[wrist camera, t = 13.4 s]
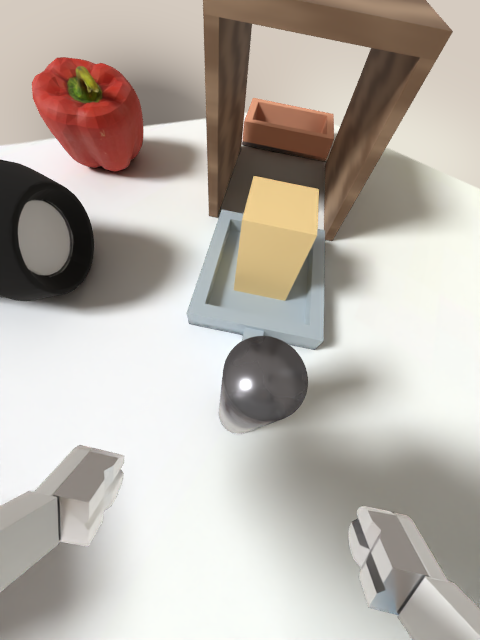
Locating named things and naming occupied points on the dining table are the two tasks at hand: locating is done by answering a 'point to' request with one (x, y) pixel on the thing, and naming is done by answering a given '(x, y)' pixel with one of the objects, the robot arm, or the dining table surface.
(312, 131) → the box
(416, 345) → the dining table surface
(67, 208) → the portable speaker
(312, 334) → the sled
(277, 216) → the ochre block
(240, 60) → the tunnel
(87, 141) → the vegetable
